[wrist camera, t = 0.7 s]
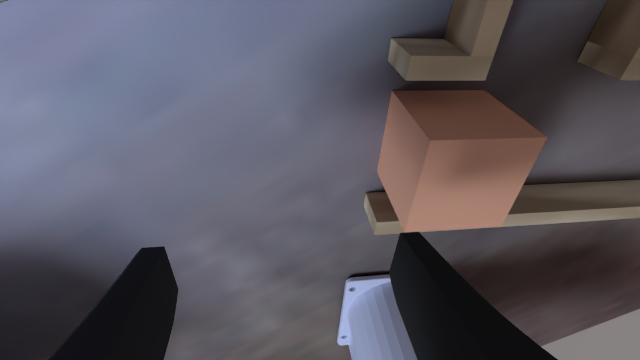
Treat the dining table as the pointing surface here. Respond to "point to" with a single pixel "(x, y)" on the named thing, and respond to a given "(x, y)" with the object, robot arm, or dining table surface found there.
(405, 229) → the block
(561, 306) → the dining table surface
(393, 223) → the trap lane
